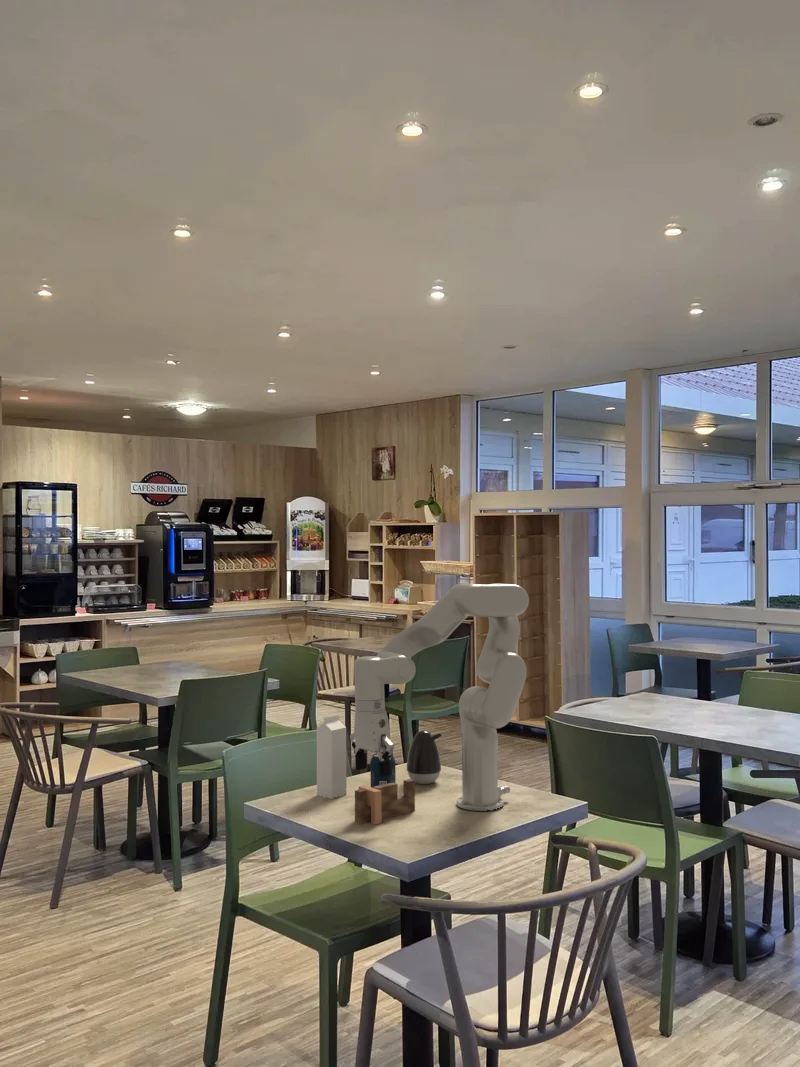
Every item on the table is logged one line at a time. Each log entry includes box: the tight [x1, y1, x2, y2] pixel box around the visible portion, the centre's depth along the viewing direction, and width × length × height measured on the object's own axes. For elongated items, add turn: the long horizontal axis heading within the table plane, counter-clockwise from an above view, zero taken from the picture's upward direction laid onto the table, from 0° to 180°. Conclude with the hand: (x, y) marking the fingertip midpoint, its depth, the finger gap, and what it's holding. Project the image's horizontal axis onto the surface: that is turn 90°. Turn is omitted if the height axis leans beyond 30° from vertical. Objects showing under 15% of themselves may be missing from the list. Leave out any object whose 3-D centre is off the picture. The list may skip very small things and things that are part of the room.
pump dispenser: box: [406, 730, 443, 785], centre depth 269 cm, size 10×10×15 cm
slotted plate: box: [358, 785, 382, 825], centre depth 232 cm, size 2×7×8 cm, turn 39°
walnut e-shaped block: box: [354, 778, 416, 825], centre depth 235 cm, size 18×2×8 cm, turn 129°
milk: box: [316, 714, 347, 799], centre depth 256 cm, size 6×6×22 cm
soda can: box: [370, 752, 397, 788], centre depth 252 cm, size 7×7×12 cm
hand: (372, 772), depth 232 cm, fingers open, 9 cm apart
